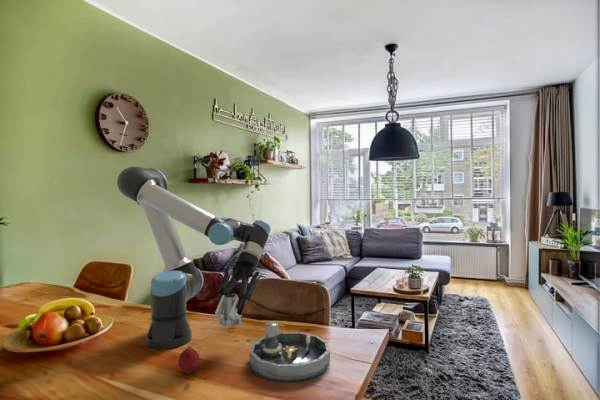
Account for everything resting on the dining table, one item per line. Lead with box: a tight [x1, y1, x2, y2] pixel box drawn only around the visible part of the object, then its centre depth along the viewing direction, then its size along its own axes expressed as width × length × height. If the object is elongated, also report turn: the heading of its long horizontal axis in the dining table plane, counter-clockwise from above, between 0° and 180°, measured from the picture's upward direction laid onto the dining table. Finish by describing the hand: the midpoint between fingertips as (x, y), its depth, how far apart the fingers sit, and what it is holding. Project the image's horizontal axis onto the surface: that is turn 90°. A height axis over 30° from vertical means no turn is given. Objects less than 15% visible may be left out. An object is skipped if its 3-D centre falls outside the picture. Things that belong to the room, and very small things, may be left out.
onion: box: [177, 344, 200, 374], centre depth 103 cm, size 6×6×8 cm
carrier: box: [249, 321, 331, 383], centre depth 109 cm, size 24×24×10 cm
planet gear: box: [217, 293, 243, 328], centre depth 119 cm, size 8×8×9 cm
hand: (224, 316), depth 115 cm, fingers closed on planet gear, 4 cm apart
